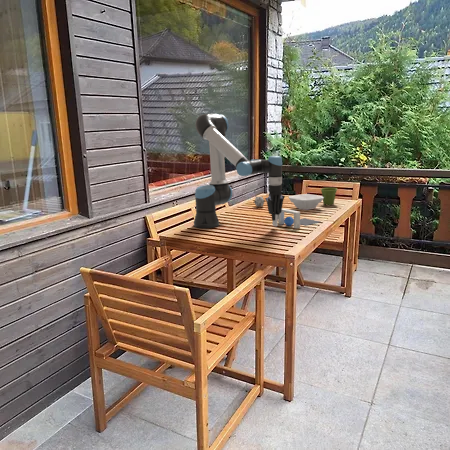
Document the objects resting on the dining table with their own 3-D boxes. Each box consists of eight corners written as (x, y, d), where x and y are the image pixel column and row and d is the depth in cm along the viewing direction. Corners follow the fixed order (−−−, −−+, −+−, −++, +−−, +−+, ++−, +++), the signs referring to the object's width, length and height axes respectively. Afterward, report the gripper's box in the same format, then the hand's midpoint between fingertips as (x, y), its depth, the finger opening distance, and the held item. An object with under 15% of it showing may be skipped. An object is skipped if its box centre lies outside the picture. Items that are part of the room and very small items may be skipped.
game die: (260, 211, 300) (267, 199, 301) (262, 209, 291) (268, 197, 293) (250, 205, 300) (256, 193, 301) (251, 203, 292) (257, 191, 293)
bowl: (305, 213, 272) (305, 200, 270) (284, 208, 289) (284, 196, 287) (327, 209, 283) (327, 197, 281) (306, 205, 300) (306, 193, 298)
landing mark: (306, 225, 240) (306, 225, 240) (289, 221, 250) (289, 221, 250) (320, 222, 248) (320, 221, 247) (304, 218, 258) (304, 218, 258)
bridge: (296, 228, 234) (296, 212, 232) (278, 224, 246) (278, 208, 243) (299, 227, 236) (300, 211, 234) (281, 223, 247) (281, 208, 245)
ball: (292, 228, 239) (288, 223, 235) (285, 226, 243) (281, 221, 239) (296, 220, 240) (292, 215, 237) (289, 219, 244) (285, 214, 241)
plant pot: (318, 203, 306) (319, 187, 303) (334, 202, 305) (335, 187, 303) (321, 206, 294) (322, 190, 292) (338, 205, 294) (339, 190, 291)
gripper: (271, 186, 222) (271, 228, 227) (288, 183, 229) (288, 225, 235) (261, 185, 227) (262, 226, 233) (278, 182, 235) (278, 222, 241)
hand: (275, 225), depth 234 cm, fingers closed
